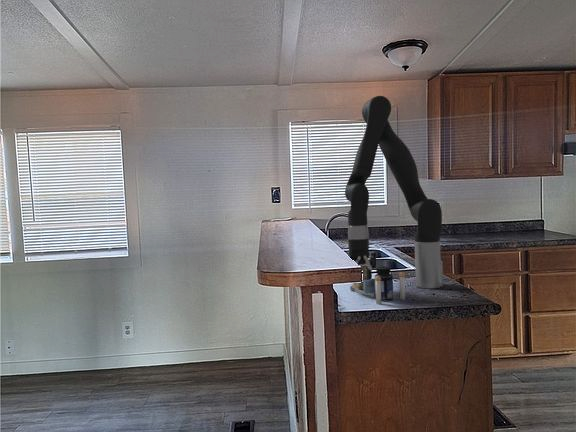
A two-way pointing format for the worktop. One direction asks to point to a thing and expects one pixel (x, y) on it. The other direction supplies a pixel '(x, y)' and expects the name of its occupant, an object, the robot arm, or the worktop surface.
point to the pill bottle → (385, 283)
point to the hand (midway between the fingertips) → (360, 281)
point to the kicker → (365, 283)
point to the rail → (363, 292)
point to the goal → (378, 287)
